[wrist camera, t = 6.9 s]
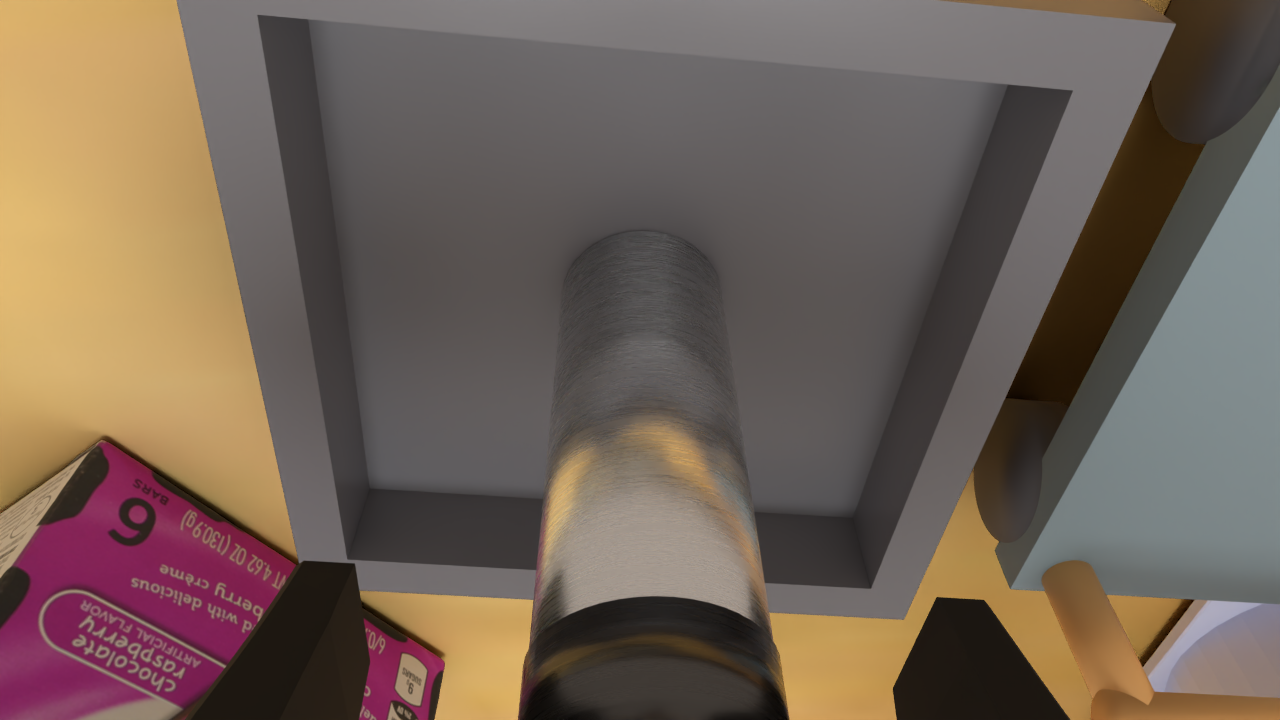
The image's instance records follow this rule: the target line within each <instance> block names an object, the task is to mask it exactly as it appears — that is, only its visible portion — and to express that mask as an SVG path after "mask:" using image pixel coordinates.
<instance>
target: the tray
mask: <svg viewBox="0 0 1280 720" xmlns="http://www.w3.org/2000/svg"><path fill="white" fill-rule="evenodd" d="M177 4H178V9H179V14H180V18H181V23H182V27H183V32H184V37H185V41H186V46H187V50H188V55H189V60H190V64H191V69H192V73H193V78H194V82H195V87H196V92H197V96H198V101H199V105H200V110H201V115H202V119H203V124H204V128H205V133H206V138H207V142H208V147H209V151H210V156H211V161H212V165H213V170H214V174H215V179H216V184H217V188H218V193H219V197H220V202H221V207H222V211H223V216H224V220H225V225H226V230H227V234H228V239H229V243H230V248H231V253H232V257H233V262H234V266H235V271H236V276H237V280H238V285H239V289H240V294H241V299H242V303H243V308H244V312H245V317H246V322H247V326H248V331H249V335H250V340H251V345H252V349H253V354H254V358H255V363H256V367H257V372H258V377H259V381H260V386H261V390H262V395H263V400H264V404H265V409H266V413H267V418H268V423H269V427H270V432H271V436H272V441H273V446H274V450H275V455H276V459H277V464H278V469H279V473H280V478H281V482H282V487H283V492H284V496H285V501H286V505H287V510H288V515H289V519H290V524H291V528H292V533H293V538H294V542H295V547H296V551H297V556H298V561H299V563H301V562H302V561H304V560H305V561H322V562H339V563H355V566H356V573H357V579H358V585H359V590H362V591H380V592H399V593H417V594H436V595H455V596H473V597H492V598H510V599H529V600H534V590H535V579H536V569H537V558H538V547H539V536H540V525H541V514H542V504H543V493H544V482H545V471H546V460H547V450H548V439H549V428H550V417H551V406H552V396H553V385H554V374H555V363H556V352H557V341H558V331H559V320H560V309H561V298H562V289H563V284H564V280H565V278H566V275H567V273H568V271H569V269H570V267H571V265H572V264H573V263H574V261H575V260H576V259H577V258H578V257H579V256H580V255H581V254H582V253H583V252H584V251H585V250H586V249H588V248H589V247H590V246H592V245H593V244H595V243H597V242H598V241H600V240H602V239H605V238H607V237H609V236H612V235H616V234H619V233H623V232H629V231H642V230H643V231H656V232H662V233H666V234H670V235H673V236H676V237H678V238H681V239H683V240H685V241H687V242H688V243H690V244H692V245H693V246H695V247H696V248H697V249H698V250H700V251H701V252H702V253H703V254H704V255H705V256H706V257H707V258H708V259H709V261H710V262H711V264H712V265H713V267H714V269H715V270H716V272H717V275H718V278H719V281H720V285H721V291H722V298H723V305H724V312H725V318H726V325H727V332H728V339H729V345H730V352H731V359H732V366H733V372H734V379H735V386H736V393H737V399H738V406H739V413H740V420H741V426H742V433H743V440H744V447H745V453H746V460H747V467H748V474H749V481H750V487H751V494H752V501H753V508H754V514H755V521H756V528H757V535H758V541H759V548H760V555H761V562H762V568H763V575H764V582H765V589H766V595H767V602H768V609H769V612H770V613H789V614H807V615H826V616H844V617H863V618H881V619H900V620H904V618H905V616H906V614H907V612H908V610H909V607H910V605H911V603H912V601H913V599H914V596H915V594H916V592H917V590H918V588H919V585H920V583H921V581H922V579H923V577H924V575H925V572H926V570H927V568H928V566H929V564H930V561H931V559H932V557H933V555H934V553H935V550H936V548H937V546H938V544H939V542H940V540H941V537H942V535H943V533H944V531H945V529H946V526H947V524H948V522H949V520H950V518H951V515H952V513H953V511H954V509H955V507H956V505H957V502H958V500H959V498H960V496H961V494H962V491H963V489H964V487H965V485H966V483H967V481H968V478H969V476H970V474H971V472H972V470H973V467H974V465H975V463H976V461H977V459H978V456H979V454H980V452H981V450H982V448H983V446H984V443H985V441H986V439H987V437H988V435H989V432H990V430H991V428H992V426H993V424H994V421H995V419H996V417H997V415H998V413H999V411H1000V408H1001V406H1002V404H1003V402H1004V400H1005V397H1006V395H1007V393H1008V391H1009V389H1010V386H1011V384H1012V382H1013V380H1014V378H1015V376H1016V373H1017V371H1018V369H1019V367H1020V365H1021V362H1022V360H1023V358H1024V356H1025V354H1026V351H1027V349H1028V347H1029V345H1030V343H1031V341H1032V338H1033V336H1034V334H1035V332H1036V330H1037V327H1038V325H1039V323H1040V321H1041V319H1042V317H1043V314H1044V312H1045V310H1046V308H1047V306H1048V303H1049V301H1050V299H1051V297H1052V295H1053V292H1054V290H1055V288H1056V286H1057V284H1058V282H1059V279H1060V277H1061V275H1062V273H1063V271H1064V268H1065V266H1066V264H1067V262H1068V260H1069V257H1070V255H1071V253H1072V251H1073V249H1074V247H1075V244H1076V242H1077V240H1078V238H1079V236H1080V233H1081V231H1082V229H1083V227H1084V225H1085V222H1086V220H1087V218H1088V216H1089V214H1090V212H1091V209H1092V207H1093V205H1094V203H1095V201H1096V198H1097V196H1098V194H1099V192H1100V190H1101V188H1102V185H1103V183H1104V181H1105V179H1106V177H1107V174H1108V172H1109V170H1110V168H1111V166H1112V163H1113V161H1114V159H1115V157H1116V155H1117V153H1118V150H1119V148H1120V146H1121V144H1122V142H1123V139H1124V137H1125V135H1126V133H1127V131H1128V128H1129V126H1130V124H1131V122H1132V120H1133V118H1134V115H1135V113H1136V111H1137V109H1138V107H1139V104H1140V102H1141V100H1142V98H1143V96H1144V93H1145V91H1146V89H1147V87H1148V85H1149V83H1150V80H1151V78H1152V76H1153V74H1154V72H1155V69H1156V67H1157V65H1158V63H1159V61H1160V58H1161V56H1162V54H1163V52H1164V50H1165V48H1166V45H1167V43H1168V41H1169V39H1170V37H1171V34H1172V32H1173V30H1174V28H1175V26H1176V23H1174V22H1173V21H1171V20H1170V19H1168V18H1167V17H1166V16H1164V15H1163V14H1161V13H1160V12H1158V11H1157V10H1155V9H1154V8H1152V7H1151V6H1149V5H1148V4H1147V3H1145V2H1144V1H1142V0H177Z"/></svg>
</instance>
